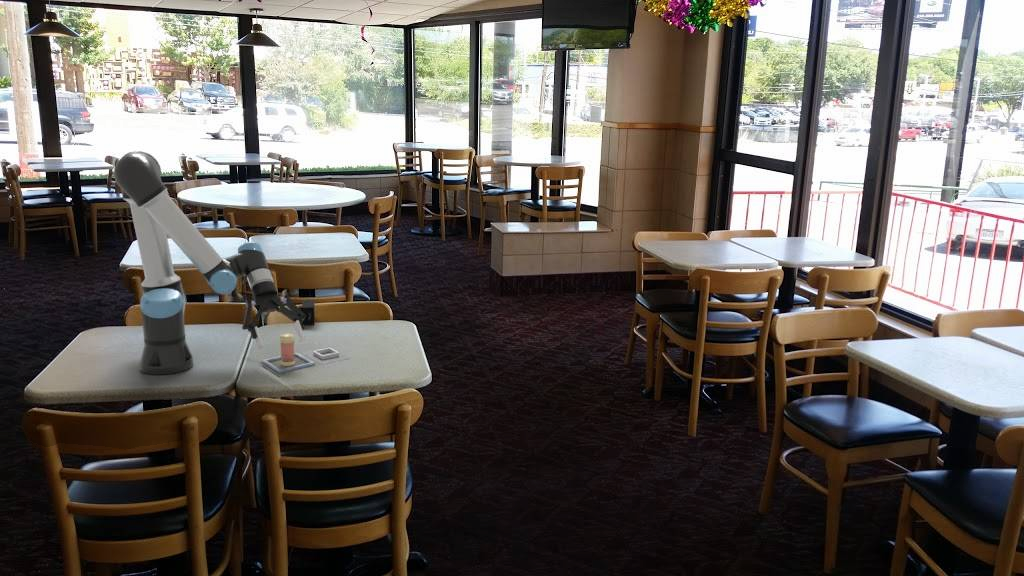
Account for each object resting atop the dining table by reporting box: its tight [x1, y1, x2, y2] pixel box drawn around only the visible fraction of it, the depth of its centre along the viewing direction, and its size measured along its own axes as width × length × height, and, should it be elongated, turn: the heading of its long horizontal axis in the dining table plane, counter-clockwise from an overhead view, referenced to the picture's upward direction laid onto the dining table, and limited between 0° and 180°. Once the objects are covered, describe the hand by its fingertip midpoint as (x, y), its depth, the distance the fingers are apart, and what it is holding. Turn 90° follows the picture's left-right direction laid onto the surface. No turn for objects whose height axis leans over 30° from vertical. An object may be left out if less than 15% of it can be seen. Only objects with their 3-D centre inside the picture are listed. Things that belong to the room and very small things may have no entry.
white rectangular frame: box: [301, 346, 351, 365], centre depth 254 cm, size 10×14×3 cm
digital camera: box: [298, 299, 316, 326], centre depth 294 cm, size 10×5×7 cm, turn 13°
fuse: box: [279, 333, 296, 367], centre depth 245 cm, size 4×4×10 cm
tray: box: [261, 352, 315, 378], centre depth 246 cm, size 12×12×2 cm
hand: (282, 343), depth 248 cm, fingers open, 13 cm apart
